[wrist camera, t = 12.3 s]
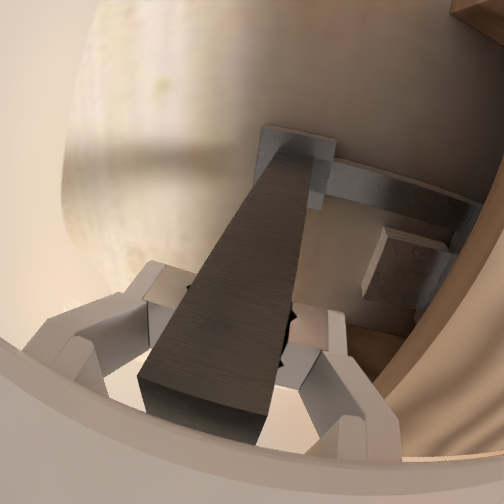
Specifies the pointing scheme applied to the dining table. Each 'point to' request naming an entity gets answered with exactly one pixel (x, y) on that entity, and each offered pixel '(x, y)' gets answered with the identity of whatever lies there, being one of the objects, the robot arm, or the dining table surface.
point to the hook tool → (270, 282)
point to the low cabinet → (451, 330)
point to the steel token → (404, 269)
